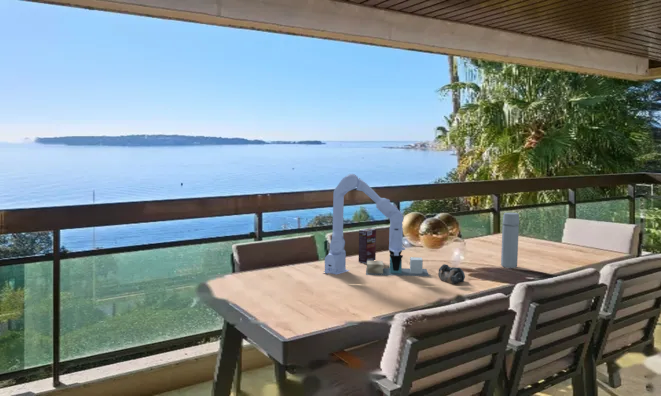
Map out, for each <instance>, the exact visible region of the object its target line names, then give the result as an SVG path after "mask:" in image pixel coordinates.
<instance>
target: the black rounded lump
mask: <svg viewBox="0 0 661 396" xmlns="http://www.w3.org/2000/svg"><path fill="white" fill-rule="evenodd" d="M437 273H438V274H437V276H438V279H440V280H441V281H442V282H446V283H447V284H450V285H457V284H459V283H464V281H465V278H466V275H465V272H464V270H463V269H462V268H460V267H450V266H449V264H445V263H443V264H442V265H441V266H440V267H439V269H438V272H437Z"/></svg>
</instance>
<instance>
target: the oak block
mask: <svg viewBox="0 0 661 396" xmlns="http://www.w3.org/2000/svg"><path fill="white" fill-rule="evenodd" d="M366 268H367V273H380V274H383V268H384V261H383V260H376V261H367V263H366Z"/></svg>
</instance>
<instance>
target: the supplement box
mask: <svg viewBox="0 0 661 396" xmlns="http://www.w3.org/2000/svg"><path fill="white" fill-rule="evenodd" d="M376 242H377V229H375V228H368V227H367V228H365V229H359V230H358V263H361V262H362V263H363V264H367V261H374V260H376V259H377V257H376V255H377V253H376V249H377V245H376V244H377V243H376ZM376 261H377V260H376Z"/></svg>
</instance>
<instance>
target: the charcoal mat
mask: <svg viewBox="0 0 661 396" xmlns="http://www.w3.org/2000/svg"><path fill="white" fill-rule="evenodd" d="M365 275H366V276H389V277H391V276H395V277H396V276H397V277H398V276H400V277H401V276H402V277H407V276H408V277H430V274H429V272H428V270H427V268H422V274H415V273H411V272H410V268H403V267H402V273H390V267H383V274H380V273H367V267H366V269H365Z"/></svg>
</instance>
